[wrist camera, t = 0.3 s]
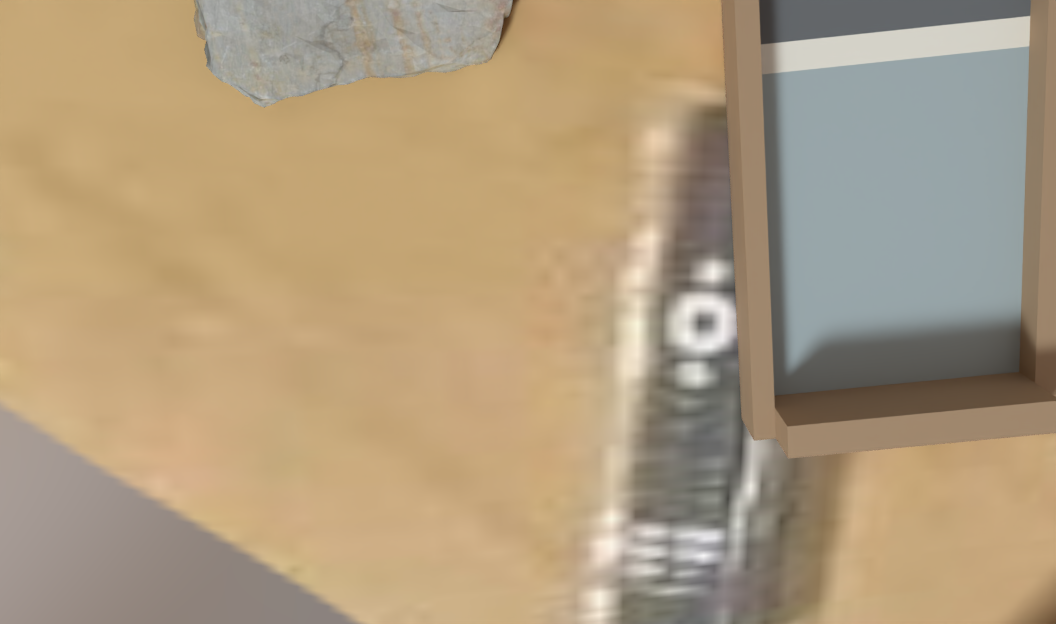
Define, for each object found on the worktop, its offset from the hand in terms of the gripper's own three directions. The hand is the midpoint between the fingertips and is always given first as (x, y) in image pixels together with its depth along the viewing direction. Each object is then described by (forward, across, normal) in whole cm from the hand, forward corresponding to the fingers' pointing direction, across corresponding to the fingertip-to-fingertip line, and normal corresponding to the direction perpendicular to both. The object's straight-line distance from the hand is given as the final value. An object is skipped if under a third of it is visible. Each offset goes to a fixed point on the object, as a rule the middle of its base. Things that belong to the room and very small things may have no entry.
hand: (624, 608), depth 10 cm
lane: (+27, +11, +8) cm, 30 cm away
